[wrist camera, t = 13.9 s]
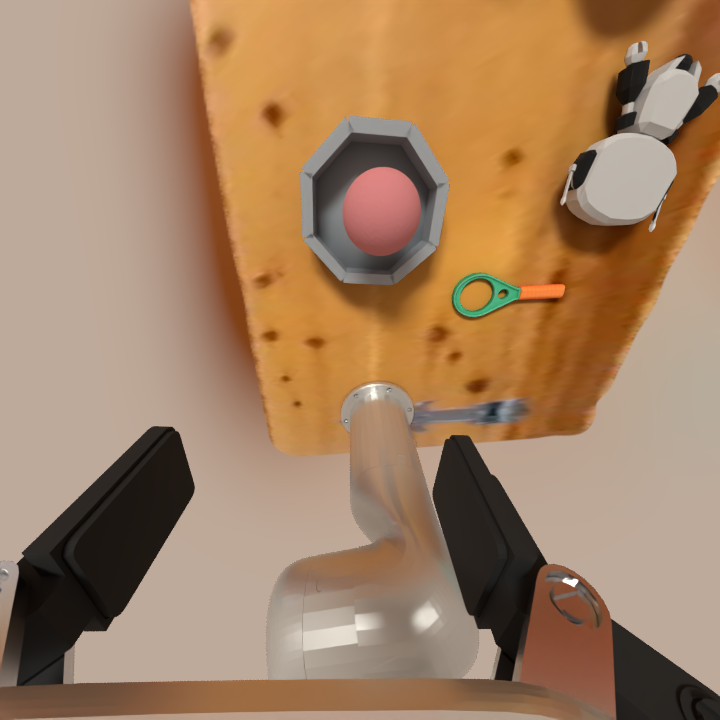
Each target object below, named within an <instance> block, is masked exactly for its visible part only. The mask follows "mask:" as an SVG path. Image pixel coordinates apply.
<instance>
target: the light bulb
mask: <svg viewBox="0 0 720 720" xmlns="http://www.w3.org/2000/svg"><path fill="white" fill-rule="evenodd" d="M342 214H343V223H344V227H345V230H346V232H347V235H348V237H349V238H350V240H351V241H352V242H353V243H354V245H355V246H357V247H358V248H359V249H360V250H362V251H363V252H365V253H368V254H371V255H375V256H385V255H390V254H392V253H395V252H397V251H399V250H401V249H402V248H403V247H404V246H405V245H407V244H408V243H409V241H410V240H411V239H412V237H413V236H414V234H415V232H416V230H417V228H418V225H419V221H420V215H421V205H420V199H419V195H418V192H417V190H416V188H415V186H414V184H413V183H412V181H411V180H410V179H409V178H408V177H407V176H406V175H405V174H403V173H402V172H400V171H398V170H396V169H393V168H389V167H377V168H373V169H370V170H367V171H366V172H364V173H362V174H361V175H360V176H359V177H357V178H356V179H355V181H354V182H353V183H352V184H351V186H350V187H349V189H348V191H347V193H346V195H345V199H344V203H343V210H342Z"/></svg>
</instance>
